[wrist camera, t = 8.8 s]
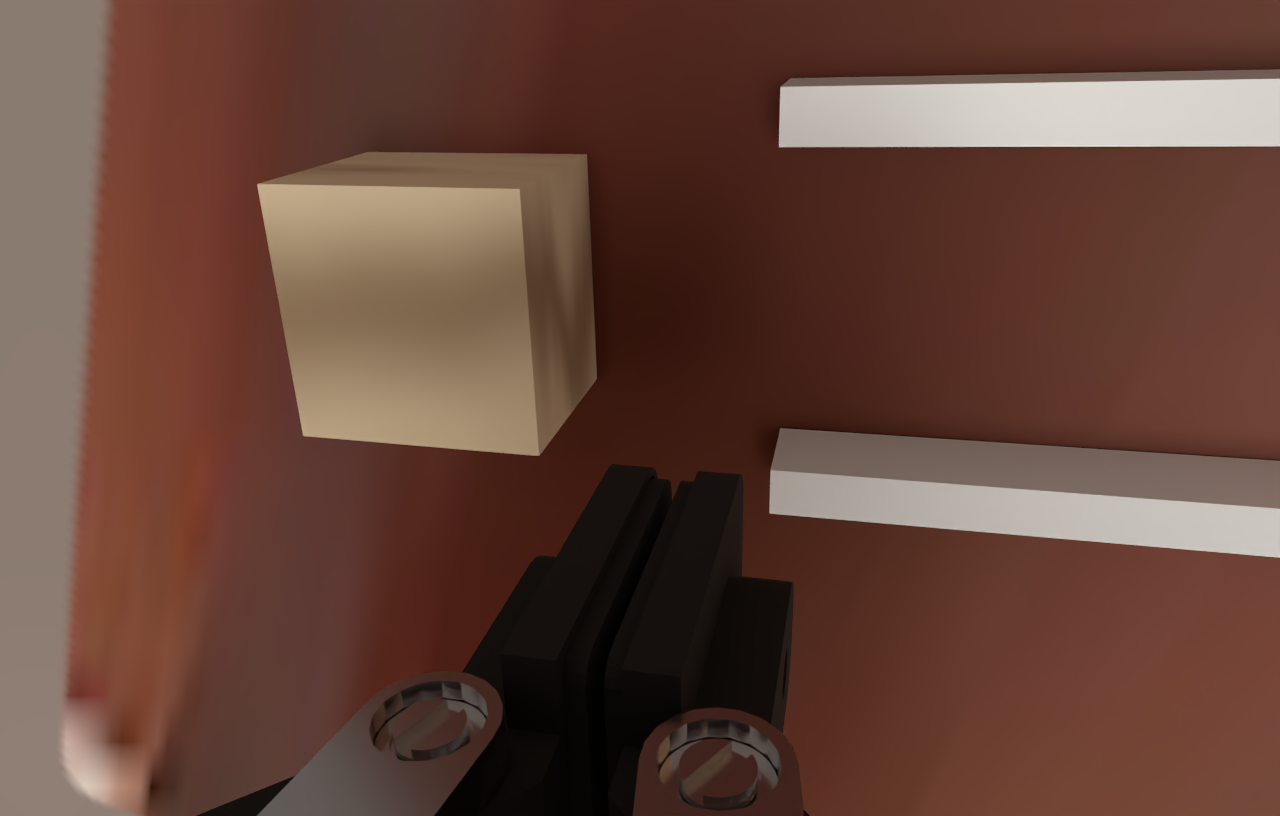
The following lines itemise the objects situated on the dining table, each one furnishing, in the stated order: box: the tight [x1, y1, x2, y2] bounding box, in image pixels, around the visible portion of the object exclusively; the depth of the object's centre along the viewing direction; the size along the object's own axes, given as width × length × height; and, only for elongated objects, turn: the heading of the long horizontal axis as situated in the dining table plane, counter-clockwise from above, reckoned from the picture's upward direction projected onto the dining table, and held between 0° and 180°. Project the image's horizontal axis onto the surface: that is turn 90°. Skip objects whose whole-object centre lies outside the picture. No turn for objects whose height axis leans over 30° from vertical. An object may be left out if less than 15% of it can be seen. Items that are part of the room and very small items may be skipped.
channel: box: [769, 69, 1280, 557], centre depth 20 cm, size 10×20×2 cm, turn 92°
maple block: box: [257, 152, 597, 456], centre depth 23 cm, size 6×6×5 cm
